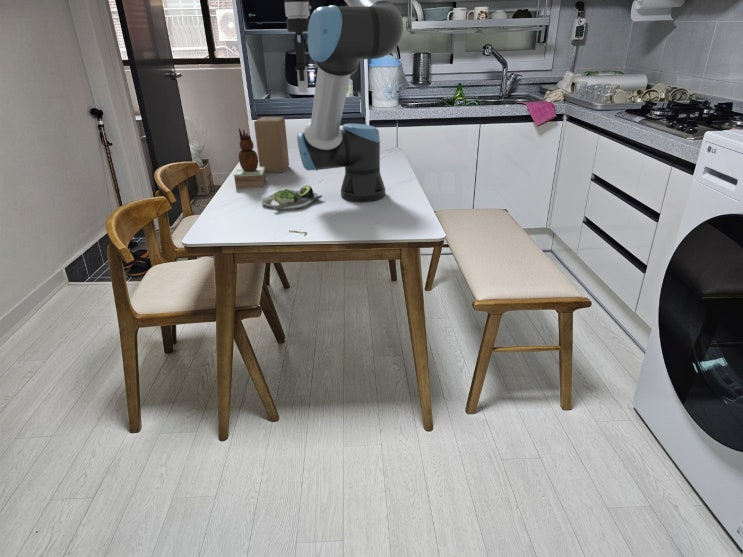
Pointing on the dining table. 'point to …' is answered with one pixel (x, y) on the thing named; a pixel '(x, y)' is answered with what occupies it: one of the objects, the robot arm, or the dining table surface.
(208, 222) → the dining table surface
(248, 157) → the wooden figurine
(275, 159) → the block
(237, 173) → the plinth
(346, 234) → the dining table surface
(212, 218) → the dining table surface
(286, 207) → the salad plate
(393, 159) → the dining table surface
